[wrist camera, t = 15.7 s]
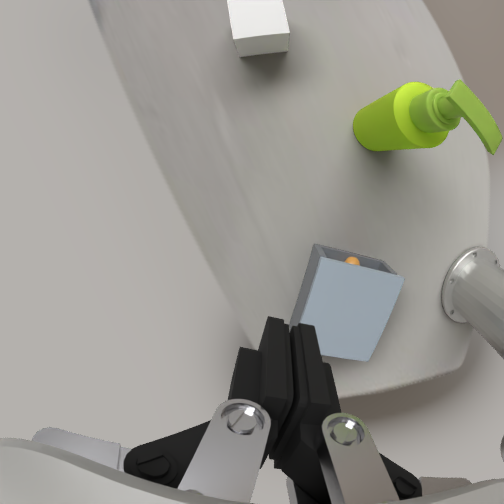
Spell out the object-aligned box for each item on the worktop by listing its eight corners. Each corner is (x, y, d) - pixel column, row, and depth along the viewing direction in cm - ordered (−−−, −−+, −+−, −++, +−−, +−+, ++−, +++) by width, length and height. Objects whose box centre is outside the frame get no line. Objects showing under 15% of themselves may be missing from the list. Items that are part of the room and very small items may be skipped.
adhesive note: (279, 15, 28) (280, -8, 23) (287, 51, 30) (290, 32, 24) (233, 20, 29) (226, -1, 23) (239, 57, 31) (233, 39, 25)
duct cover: (402, 276, 32) (404, 278, 31) (366, 358, 35) (368, 361, 34) (320, 256, 32) (321, 258, 31) (291, 345, 35) (291, 349, 34)
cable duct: (383, 260, 37) (397, 274, 32) (354, 336, 40) (362, 356, 35) (314, 243, 37) (320, 255, 32) (289, 324, 40) (290, 344, 35)
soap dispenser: (385, 166, 33) (486, 176, 14) (343, 129, 32) (419, 97, 13) (409, 133, 32) (515, 120, 12) (369, 97, 31) (455, 45, 12)
